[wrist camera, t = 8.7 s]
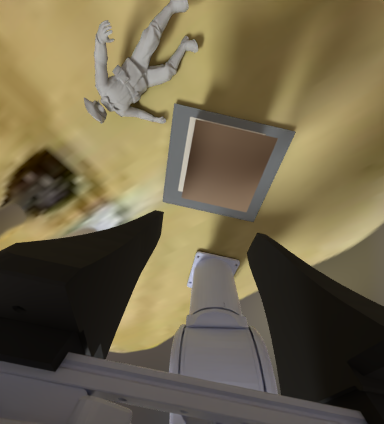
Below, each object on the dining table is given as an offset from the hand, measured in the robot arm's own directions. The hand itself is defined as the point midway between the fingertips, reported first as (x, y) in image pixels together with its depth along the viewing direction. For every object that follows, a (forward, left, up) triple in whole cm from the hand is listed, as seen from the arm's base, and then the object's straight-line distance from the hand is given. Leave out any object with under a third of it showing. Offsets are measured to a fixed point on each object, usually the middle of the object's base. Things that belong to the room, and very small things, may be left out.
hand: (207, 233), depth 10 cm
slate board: (+3, -1, -10) cm, 11 cm away
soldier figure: (+11, +9, -11) cm, 18 cm away
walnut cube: (+5, 0, -6) cm, 7 cm away
